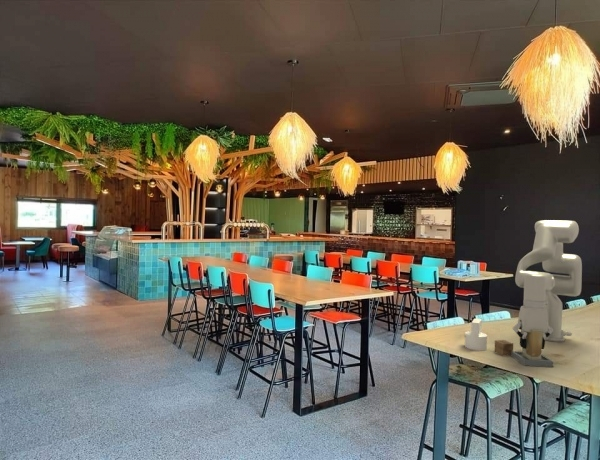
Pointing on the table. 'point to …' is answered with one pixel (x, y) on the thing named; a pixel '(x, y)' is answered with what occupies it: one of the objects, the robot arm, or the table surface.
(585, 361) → the table surface
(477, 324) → the base with upright slab
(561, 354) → the table surface
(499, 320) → the table surface
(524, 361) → the slate tray
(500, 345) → the walnut block
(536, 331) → the skincare box
